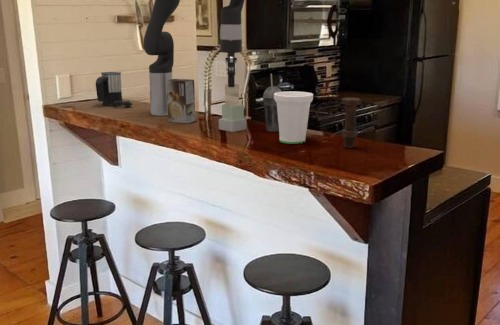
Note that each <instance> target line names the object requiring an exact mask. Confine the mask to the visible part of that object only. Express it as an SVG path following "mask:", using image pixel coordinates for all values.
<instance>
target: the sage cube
mask: <svg viewBox="0 0 500 325" xmlns="http://www.w3.org/2000/svg"><path fill="white" fill-rule="evenodd" d="M244 108H245V107H244V104H240V103H239V106H225V103H224V104H221V118H222V119H226V120H230V121H234V120H240V119H244V118H245V109H244Z"/></svg>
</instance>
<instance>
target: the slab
mask: <svg viewBox="0 0 500 325" xmlns="http://www.w3.org/2000/svg"><path fill="white" fill-rule="evenodd" d="M218 130H221V131H226V132H230V133H231V132H232V133H233V132H239V131H244V130H247V118H245V117H244V119H240V120H234V121H230V120H226V119H222V117H221V118H218Z"/></svg>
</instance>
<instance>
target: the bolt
mask: <svg viewBox="0 0 500 325" xmlns="http://www.w3.org/2000/svg"><path fill="white" fill-rule="evenodd" d="M340 103H341V104H342V105H344V106H345V107H344V109H345V115H344V116H345V117H344V118H345V119H344V120H345V121H344V128H343V129H342V130H341V134H340V135H341V137H343V147H344V148H346V147H348V148H347V149H353V148H354V147H355V139H356V137H357V136H358V135H359V131H358V130H357V129H356V115H357V108H358V106H359V105H361V104H362V100H361V99H360V98H359V97H343V98H342V99H341V102H340ZM352 147H353V148H352Z"/></svg>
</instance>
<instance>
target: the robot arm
mask: <svg viewBox="0 0 500 325" xmlns="http://www.w3.org/2000/svg"><path fill="white" fill-rule="evenodd" d="M180 1H181V0H154V3H153V6H152V7H153V8H152V11H151V15H150V18H149V22H148V23H147V24H148V25H147V28H146V31H145V33H144V36H143V41H142V42H143V43H142V44H143V46H142V47H143V50H144V52H145V53H146V54H147V56H148V55H149V56H157V58H156V60H155V61H154V62H153V63H151V64H150V65H149V66H148V73H149V74H148V75H149V103H150V104H149V105H150V114H151V116H157V117H160V116H161V117H165V116H168V105H167V86H166V80H170V79H173V66H174V62H175V61H174V58H175V57H174V53H175V48H174V47H175V45H174V44H175V43H174V38H173V36H172V34H171V33H170V32H168V31H163V29H164V26H165V24H166V22H167V21H168V20H169V18H170V17H171V16H172V15H173V13H174V12H175V11H176V10H177V9H178V6H179V4H180ZM244 3H245V0H230V1H229V4H228V5H226V6H223V7H222V8H221V9H220V28H219V46H220V47H219V51H220V52H221V53H225V54H227V56H226V57H225V70H226V72H227V74H226V75H227V84H228V87H234V86H235V84H236V83H235V78H236V77H235V76H236V71H237V62H238V58H237V57H235V55H236V53H237V54H239V53H241V52H243V29H242V11H243V7H244Z"/></svg>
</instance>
